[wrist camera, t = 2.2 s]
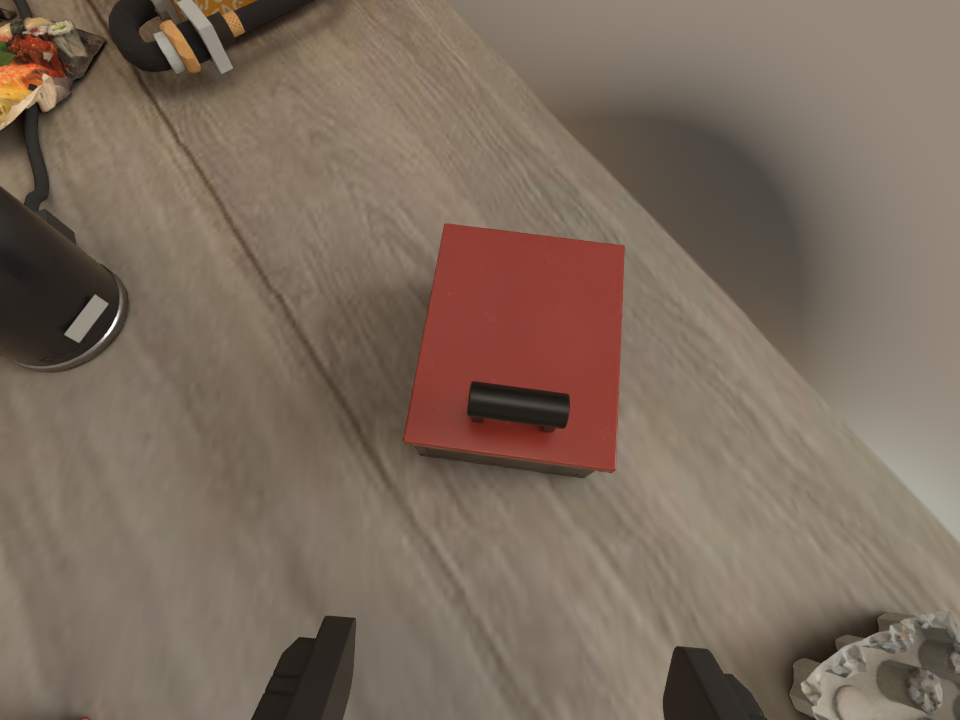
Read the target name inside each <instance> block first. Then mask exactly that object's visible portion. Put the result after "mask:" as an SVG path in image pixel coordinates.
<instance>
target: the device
mask: <svg viewBox="0 0 960 720" xmlns="http://www.w3.org/2000/svg"><path fill="white" fill-rule="evenodd" d="M311 1H314V0H120V1H119V2H118V3H116V4H115V5H114V7H113V9H112V11H111V13H110V16H109V31H110V34H111V37H112V39H113V42H114V43H115V45H116V46H117V48H118V49H119V51H120V52H121V54H122V55H123V57H124V58H125V59H126V60H127V61H129V62H130V63H132V64H133V65H135V66H136V67H138V68H139V69H141V70H143V71H148V72H160V71H167V70H170V69H172V68H173V70H174V71H175V73H176V74H178V73H180V72H183V71H185V70H187V71H188V73H192V74H194V73H197V72H200V69H201V66H200V64H201V63H203V62H205V61H207V60H209V59H210V60H211V62H212V63H213V64H214V65H215V67H216V68H217V69H218V70H219V72H220V73H221V74H222V73H224V72H227V71H229V70H231V69H233V67H232V65H231V63H230V61H229V59H228V57H227V55H226V53H225V50H224V48H223V47H225V46H227V45H230V44H232V43H234V42H235V37H237V36H239V35H241V34H243V33H245V32H246V31H249V30H251V29H253V28H255V27H257V26H259V25H262V24H264V23H266V22H268V21H270V20H272V19H275V18H277V17H279V16H281V15H283V14H285V13H288V12H290V11H292V10H294V9H296V8H298V7H301V6H303V5H305V4H307V3H309V2H311ZM156 16H159V17H160V18H161V19H162V20H163V21H164V20H167V19H169V21H165V22H162V23H161V25H160V26H159V27H160V29H161V31H160V32H157V33H154V34H153V36H154V38H155V39H156V41H154V42H149V43H145V42H144V41H143V40H142V38H141V37H140V35H139V28H140V27H141V26H142V25H143V24H144V23H145V22H147V21H149V20H150V19H152V18H154V17H156Z"/></svg>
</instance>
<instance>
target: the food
mask: <svg viewBox="0 0 960 720" xmlns="http://www.w3.org/2000/svg"><path fill="white" fill-rule="evenodd" d="M14 14H16V12H13V11H9V10H5V9H3V8H0V16H1V17H3V18H7V19H10V18H11V17H12V16H13V15H14ZM32 17H33V18H30V17H29V18H26V19H24V20H22V19H21V18H20V19H19V20H17V21H15V22H11V23H8V24H6V25H5V26H2V27H0V130H2V129H3V128H4V127H6V126H7V125H8V124H10V123H11V122H12V121H13V120H14V119H15V118H16V117H17V116H18V115H19V114H20V113H21V112H22V111H23V110H24V109H25V108H26V109H28V108H30V107H31V106H32V105H33V104H35V102H37V103H38V105H39V107H40V109H41V111H42V112H48V111H50V110H51V109H52V108H54V107H55V105H56V104H58V103H59V102H60V101H62V100H63V99H65V98H67V97H68V95H70V94H71V92H70V90H71V86H72V85H73V81H74V80H75V79H76V78H81V77H83V75H84V74H85V73H86V70H87V68H88V66H89V64H90V62H91V61H92V59H93V57H94V55H95V54H96V53H97V52H98V51H99V49H100V48H101V46H102V45H103V43H104V42H105V40H106V38H103V37H100V36H97V35H94V34H91V33H88V32H85V31H83V30H79V29H76V26H75V25H74V23H73V22H72V21H71V20H70V21H68V20H65V21H60V22H55V21H52V20H49V19H45V18H42V17H38V16H36V15H33V14H32ZM29 84H33V85H36V86H37V88H36V89H35V90H34V91H32V90H29V89H28V87H29ZM71 95H72V94H71Z"/></svg>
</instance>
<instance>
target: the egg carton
mask: <svg viewBox="0 0 960 720" xmlns="http://www.w3.org/2000/svg"><path fill="white" fill-rule="evenodd" d="M877 622H878V624H879V633H875V634H873V635H871V636H869V637H867V638H860V637H856V636H852V635H844V636H841V637H840V638H838V639H836V640H835V645H836V649H837V652H836V653H835V654H834V655H832V656H831V657H830V658H828V659H827V660H825V661H824V662H822V663H818V662H815V661H813V660H810V659H807V658H802V659H799V660H797V661H796V662H795V663H794V664H793V669H794V683H793V686H792V688H791V690H790V693H789V696H790V698H791V700H792V703H793V706H794V707H795V708H796V709H797V710H798V711H800V712H803V713H805V714H807V715H809V716H811V717H813V718H815V719H817V720H960V635H959V633H958V628H957V625H956V623H955V621H954V619H953V617H952V615H951V613H950V612H948V611H942V612H934V613H928V614H923V615H920V616H912V615H905V614H899V613H891V612H886V613H884V614H883V615H881V616H879V617H878V618H877Z"/></svg>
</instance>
